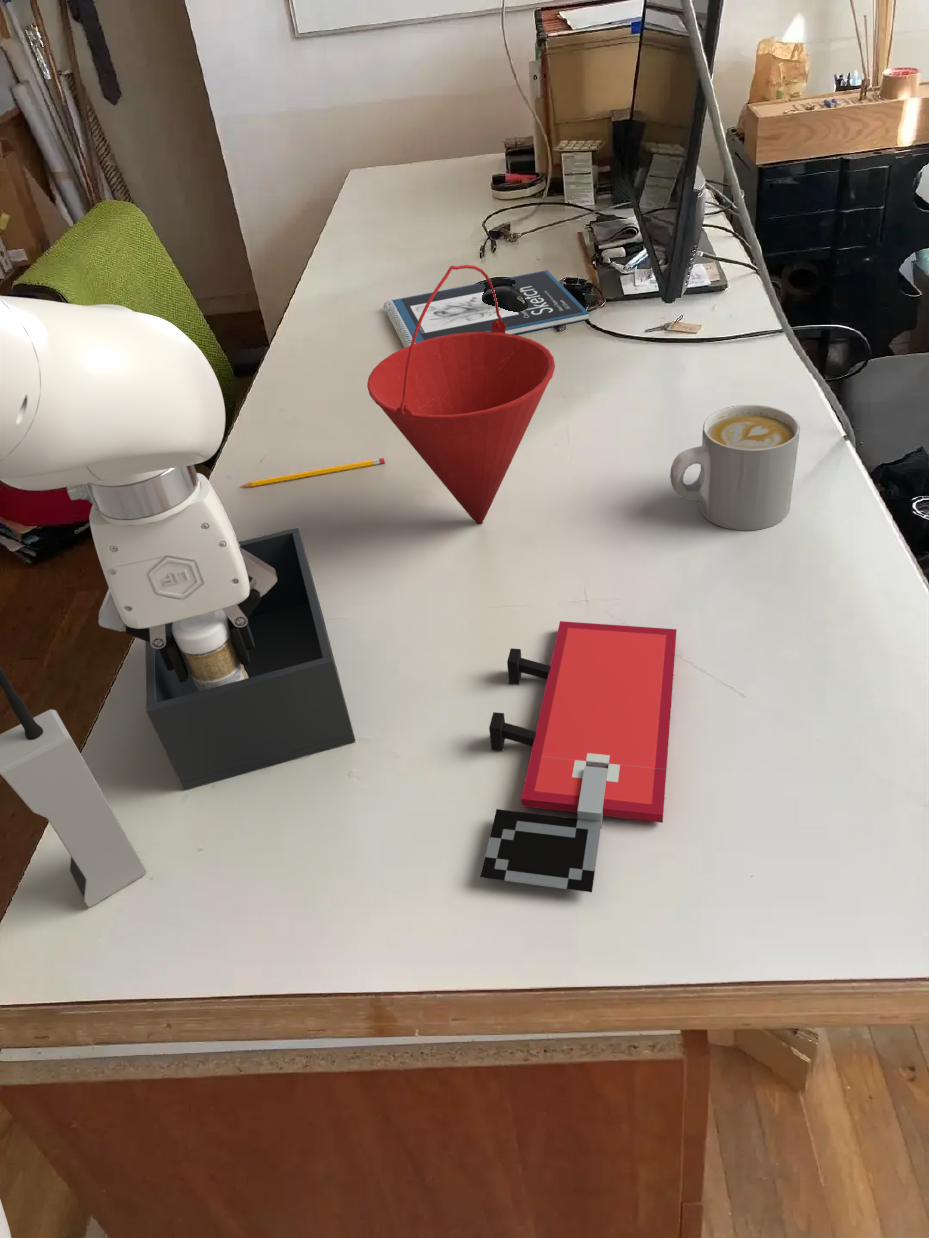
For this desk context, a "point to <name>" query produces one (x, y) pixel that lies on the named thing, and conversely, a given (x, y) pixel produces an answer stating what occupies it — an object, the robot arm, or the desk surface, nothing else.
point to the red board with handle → (585, 750)
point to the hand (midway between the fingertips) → (213, 661)
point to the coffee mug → (742, 467)
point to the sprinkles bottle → (209, 650)
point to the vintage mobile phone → (67, 800)
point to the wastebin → (257, 684)
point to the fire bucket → (464, 402)
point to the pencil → (314, 473)
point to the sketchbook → (485, 310)
